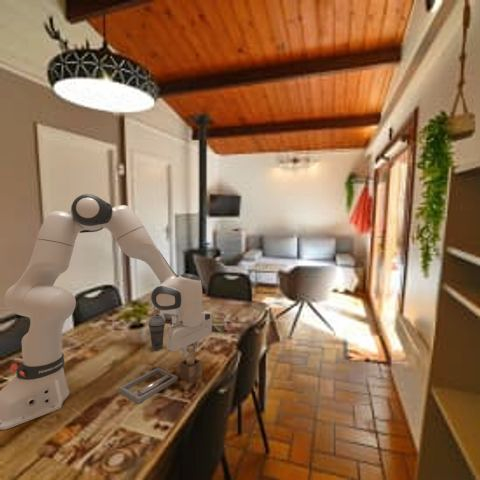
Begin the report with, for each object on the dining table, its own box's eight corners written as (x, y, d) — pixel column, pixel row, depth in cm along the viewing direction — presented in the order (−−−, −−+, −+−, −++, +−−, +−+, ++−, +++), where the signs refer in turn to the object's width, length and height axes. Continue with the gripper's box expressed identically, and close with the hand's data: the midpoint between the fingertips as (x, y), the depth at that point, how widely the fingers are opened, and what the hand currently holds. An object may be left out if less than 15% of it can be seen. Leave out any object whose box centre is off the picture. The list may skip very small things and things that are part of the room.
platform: (232, 337, 156) (232, 325, 156) (197, 335, 158) (197, 323, 157) (235, 328, 168) (235, 316, 168) (202, 326, 170) (202, 315, 169)
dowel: (190, 376, 115) (190, 347, 114) (184, 373, 117) (184, 345, 116) (195, 372, 118) (196, 344, 117) (190, 370, 120) (190, 342, 118)
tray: (139, 405, 102) (139, 399, 102) (119, 393, 109) (119, 387, 108) (178, 382, 116) (177, 376, 116) (158, 372, 122) (158, 367, 122)
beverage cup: (161, 352, 139) (160, 308, 137) (146, 350, 140) (145, 307, 138) (168, 345, 146) (167, 303, 144) (153, 344, 147) (152, 302, 145)
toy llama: (180, 325, 170) (179, 289, 168) (152, 321, 175) (151, 286, 173) (186, 321, 177) (186, 286, 175) (159, 317, 182) (159, 283, 180)
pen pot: (190, 385, 114) (190, 368, 113) (178, 379, 118) (178, 362, 117) (202, 377, 119) (202, 361, 118) (190, 372, 123) (190, 356, 122)
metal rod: (142, 398, 105) (142, 391, 105) (138, 395, 106) (137, 388, 106) (170, 382, 115) (169, 375, 114) (165, 380, 116) (165, 373, 116)
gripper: (174, 328, 105) (174, 367, 107) (214, 312, 122) (214, 346, 123) (162, 324, 109) (162, 362, 110) (202, 309, 125) (202, 342, 127)
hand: (190, 353), depth 117 cm, fingers closed on dowel, 3 cm apart
